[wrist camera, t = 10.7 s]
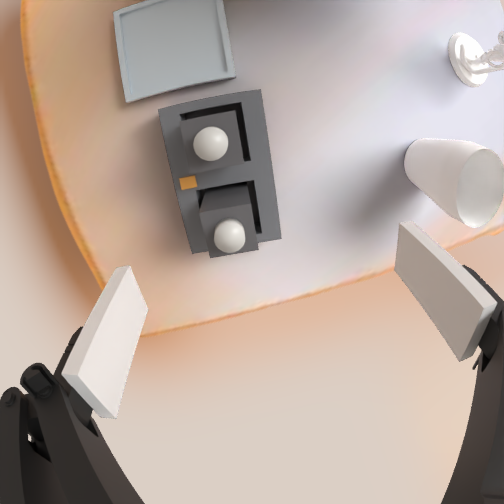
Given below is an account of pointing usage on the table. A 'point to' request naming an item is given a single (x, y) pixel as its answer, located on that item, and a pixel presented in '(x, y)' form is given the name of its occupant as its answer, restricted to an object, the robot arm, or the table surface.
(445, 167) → the cup
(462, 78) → the figurine
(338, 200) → the table surface
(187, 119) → the gray block holder
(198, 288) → the table surface
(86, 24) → the table surface
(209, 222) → the plug
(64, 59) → the table surface
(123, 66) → the tray
